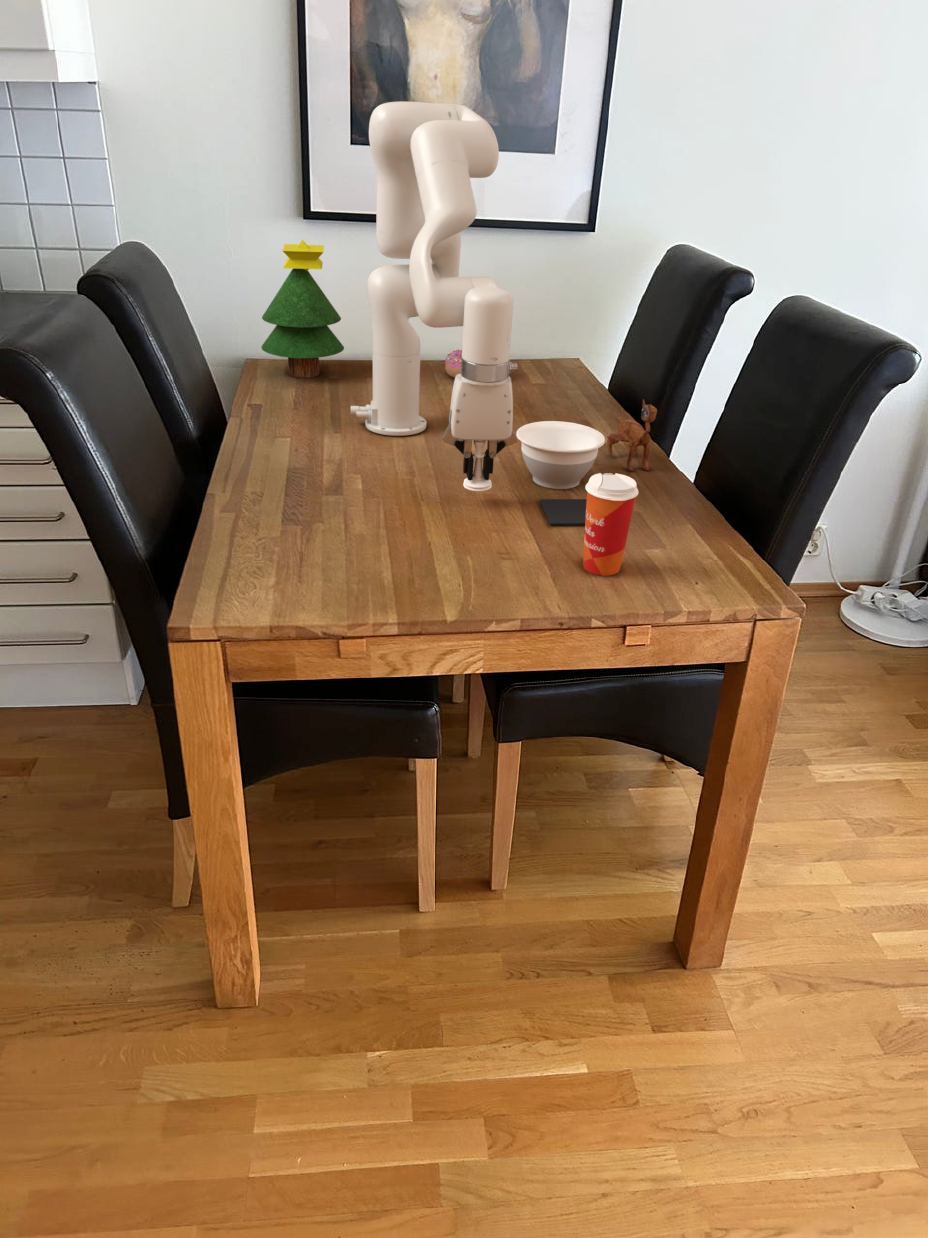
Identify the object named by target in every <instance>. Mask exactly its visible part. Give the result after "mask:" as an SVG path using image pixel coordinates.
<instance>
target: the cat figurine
mask: <svg viewBox="0 0 928 1238" xmlns="http://www.w3.org/2000/svg"><path fill="white" fill-rule="evenodd" d="M641 404H642V408H641V414H640V418H641V420H642V421H643V422H644V423H645V428H644V427H643V426H642V424H640V423H639V422H637V421H635V420H633V419H622V420H620V421H619V422H618V428H617V431H616V432H614V433H610V434H609V435H608V436H607V440H606V445H607V452H608V455H609V456H611V457H614V454H613V445H615V444H618V443H619V442H624V443H627V445H628V454H627V459H626V467H627V470H628V472H634V471H635V470H634V468H633V457H634V455H635V456H638V455H639V454H640V453H639V447H641V446H642V447H643V454H642V459H641V467H642V469H643V470H644V471H650V470H651V469H650V467H649V456H650V452H651V449H652V448H651V447H652V441H651V436H650V432H651V424H650V423H653V422H654V421H655V420H656V417H657V414H658V409H657V408H656V407H655V406H654V405H652V404H651V403H650V404H646V402H645V399H644V398H643V399H642V403H641Z"/></svg>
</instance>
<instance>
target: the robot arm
mask: <svg viewBox="0 0 928 1238" xmlns="http://www.w3.org/2000/svg"><path fill="white" fill-rule="evenodd" d="M368 141H369V148H370V152H371V156H372V160H373V163H374V167H375V175H376V218H375V219H376V222H375V224H376V225H375V227H376V228H375V229H376V230H375V231H376V233H375V235H376V244H377V248H378V250H379V252H380V254H381V255H382V256H383V257H386V258H389V259H395V260H397V259H398V260H409V263H407V264H390V265H389V264H388V265H383V266H380V267H378V268H376V269H374V270H373V271H372V272H371V273H370V274H369V276H368V279H367V283H366V284H367V285H366V292H367V293H366V294H367V298H368V306H369V313H370V321H371V339H372V340H371V342H372V343H371V348H372V350H371V352H372V356H371V357H372V400H370V404H365V406H360V405H350V416H356V419H365V420H364V425H365V428H366V429H367V430H368V431H370V432H372V433H375V434H377V435H382V436H389V437H390V436H391V437H405V436H413V435H417V434H419V433H422V432H423V431H425V430H426V428H427V420H426V419H425V418H424V417H422V416H421V415H420V392H421V391H420V390H421V389H420V388H421V387H420V385H421V339H420V336H419V334H418V332H417V331H416V330H415V328H414V327H413V326H412V324H411V322H410V321H409V319H411V318H415V317H416V318H417V317H418V318H419V319H420V320H421V322H422V323H423V324H424V325H425V326H427V327H430V328H435V329H437V328H442V329H443V328H457V327H462V341H461V342H462V344H461V346H462V347H461V350H462V361H461V374H457V375H456V377H455V378H454V381H453V386H452V390H451V399H450V407H449V416H448V417H449V418H448V425H447V427H446V429H445V430H444V432H443V434H442V440H443V442H444V443H446V444H448V445H450V446H453V447H455V449H457V450H458V451H459V452H460V453H461V454H462V456H463V461H462V462H463V463H462V472H463V474H465V475H466V478H468V480H471V479H473V472H474V464H475V459H474V458H475V457H474V456H473V451H472V448H473V441H474V440H485V441H486V449H485V451H484V453H485V456H484V457H482V458H483V459H482V471H483V476H484V480H489V479H490V474H491V475H492V474H493V472H494V460H495V458H496V457H497V455H498V454H499V453H500V452H501V451H503V449H505V448H506V447H509V446H511V445H514V444H516V443H517V442H518V438H517V436H516V432H515V430H514V427H513V421H514V420H513V419H514V396H513V384H512V378H511V376H510V375H511V374H512V373H517V372H518V363H516V362H512V361H511V360H510V354H511V353H510V352H511V351H510V350H511V338H512V326H513V313H514V298H513V296H512V294H511V293H510V291H508V290H506V289H503V288H501V286H500V284H499V282H498V281H496V280H495V278H492V277H490V276H460V275H459V274H460V262H461V261H460V260H461V247H462V232H463V231H464V230H466V229H467V228H468V227H469V226H471V225H472V223H474V221H475V219H476V217H477V212H478V209H477V205H476V200H475V196H474V192H473V187H472V182H471V179H485V178H488V177H491V176H492V175H493V174H494V173H495V172H496V170H497V167H498V164H499V159H500V158H499V157H500V150H499V143H498V139H497V136H496V133H495V131H494V129H493V127H492V126H491V125H490V124H489V123H488V121H487V120H486V119H484V117H482V116H481V115H479V114H478V113H476V111H474V110H472V109H471V108H470V107H468V106H466V105H464V104H458V103H445V102H443V103H442V102H423V101H389V102H383V103H381V104H379V105H378V106H376V107H375V108H374V109H373V111H372V112H371V115H370V118H369V123H368Z"/></svg>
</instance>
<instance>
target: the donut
mask: <svg viewBox="0 0 928 1238" xmlns="http://www.w3.org/2000/svg"><path fill="white" fill-rule="evenodd" d="M461 361H462V349H456V350H453V351H451V352H449V353H447V354H446V358H445V361H444V362H445V363H444V367H445V368H444V369H445V372H446V374H447V375H448V376H450V377H451V378H453V379H455V377H456V375H457V374H461Z"/></svg>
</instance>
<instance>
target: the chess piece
mask: <svg viewBox="0 0 928 1238" xmlns="http://www.w3.org/2000/svg"><path fill="white" fill-rule="evenodd" d="M486 443H487V440H473V446H474V449H475V451H474V452H472V455H473V458H475V460H474V466H473V479H471V480H468V478H467V477H465V479H463V483H462V486H463V488H464V489H466V490H469V491H472V492H486V491H488V490H490V489H491V488H492V487H493V485H492V480H491V479H490V478H489V480H484V476H483V459H482V458H483V457H484V456H485V451H483V450H484V447H485V445H486Z"/></svg>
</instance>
